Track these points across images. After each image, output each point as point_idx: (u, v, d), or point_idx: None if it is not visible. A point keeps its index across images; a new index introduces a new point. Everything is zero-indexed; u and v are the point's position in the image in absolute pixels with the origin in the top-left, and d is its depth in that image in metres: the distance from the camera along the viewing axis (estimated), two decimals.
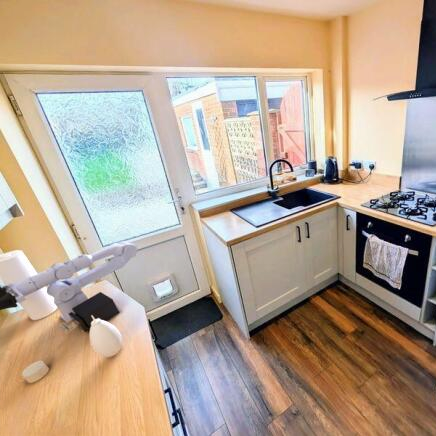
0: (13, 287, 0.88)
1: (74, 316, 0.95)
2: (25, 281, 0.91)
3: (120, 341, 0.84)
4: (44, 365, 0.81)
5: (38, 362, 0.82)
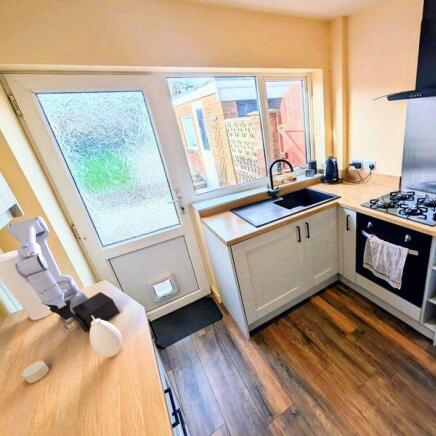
0: None
1: (74, 316, 0.95)
2: None
3: (120, 341, 0.84)
4: (44, 365, 0.81)
5: (38, 362, 0.82)
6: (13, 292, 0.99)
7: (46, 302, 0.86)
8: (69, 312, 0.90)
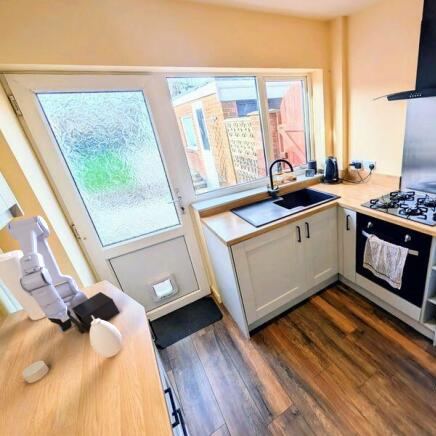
0: None
1: (71, 318, 0.94)
2: None
3: (120, 341, 0.84)
4: (44, 365, 0.81)
5: (38, 362, 0.82)
6: (13, 292, 0.99)
7: (50, 316, 0.87)
8: (69, 322, 0.93)
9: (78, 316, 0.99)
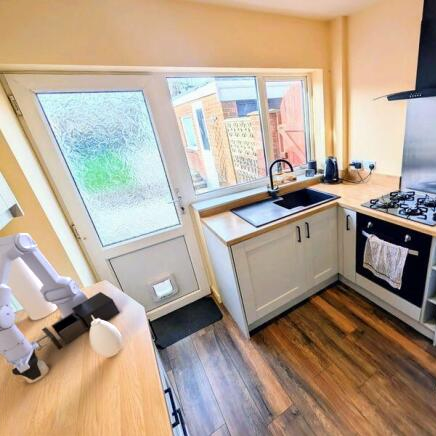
0: (31, 345, 0.80)
1: (48, 332, 0.89)
2: None
3: (120, 341, 0.84)
4: (44, 365, 0.81)
5: (38, 362, 0.82)
6: (13, 292, 0.99)
7: (10, 362, 0.74)
8: (37, 371, 0.78)
9: (56, 329, 0.93)
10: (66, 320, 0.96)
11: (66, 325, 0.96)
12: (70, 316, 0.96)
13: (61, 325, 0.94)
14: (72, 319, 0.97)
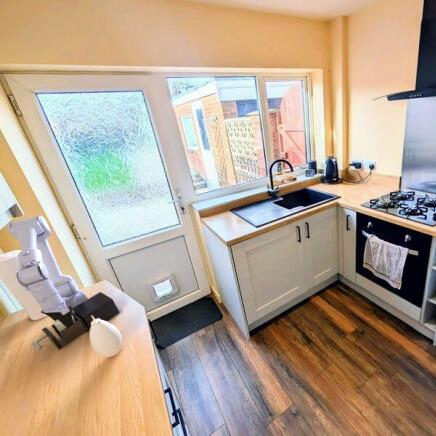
0: None
1: (48, 332, 0.89)
2: None
3: (120, 341, 0.84)
4: (72, 316, 0.94)
5: None
6: (13, 292, 0.99)
7: (48, 310, 0.86)
8: (70, 318, 0.91)
9: (56, 329, 0.93)
10: None
11: None
12: None
13: None
14: None
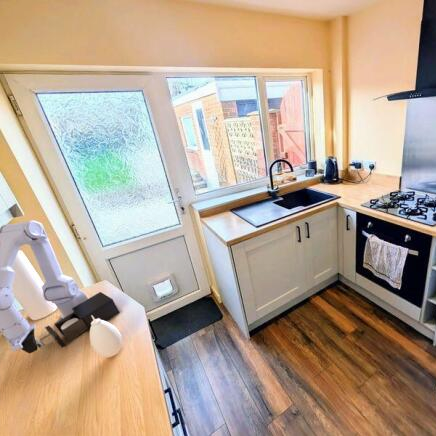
0: None
1: (51, 330, 0.90)
2: (24, 319, 0.83)
3: (120, 341, 0.84)
4: None
5: (71, 319, 0.96)
6: (13, 292, 0.99)
7: (8, 340, 0.79)
8: (33, 346, 0.85)
9: (59, 328, 0.94)
10: (69, 318, 0.96)
11: None
12: (73, 314, 0.97)
13: (63, 323, 0.95)
14: (75, 317, 0.98)
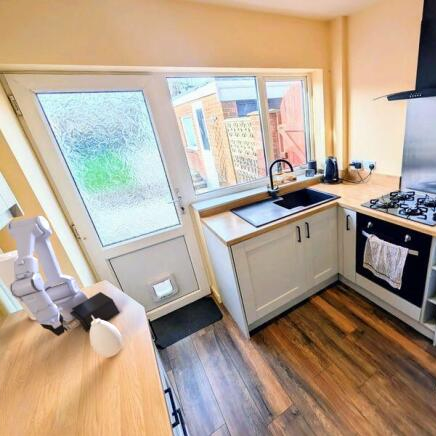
0: None
1: (75, 315, 0.95)
2: None
3: (120, 341, 0.84)
4: None
5: None
6: None
7: (42, 322, 0.85)
8: (62, 328, 0.91)
9: None
10: None
11: None
12: None
13: None
14: None
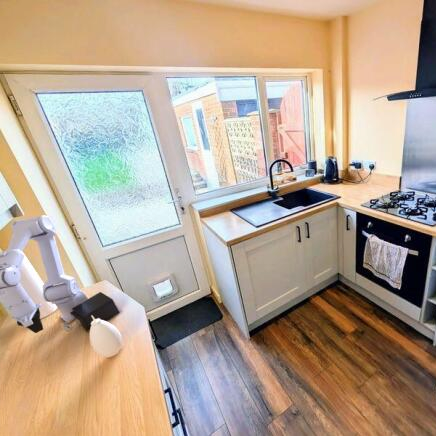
0: None
1: (76, 315, 0.95)
2: None
3: (120, 341, 0.84)
4: None
5: None
6: None
7: (15, 318, 0.80)
8: (40, 325, 0.86)
9: None
10: None
11: None
12: None
13: None
14: None
